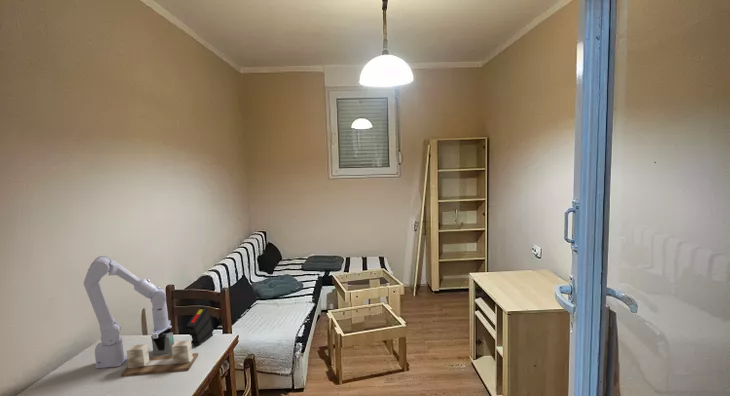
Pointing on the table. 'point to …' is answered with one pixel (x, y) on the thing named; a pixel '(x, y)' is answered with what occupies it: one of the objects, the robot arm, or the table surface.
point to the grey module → (168, 344)
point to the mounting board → (159, 359)
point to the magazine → (200, 327)
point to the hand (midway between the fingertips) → (163, 347)
